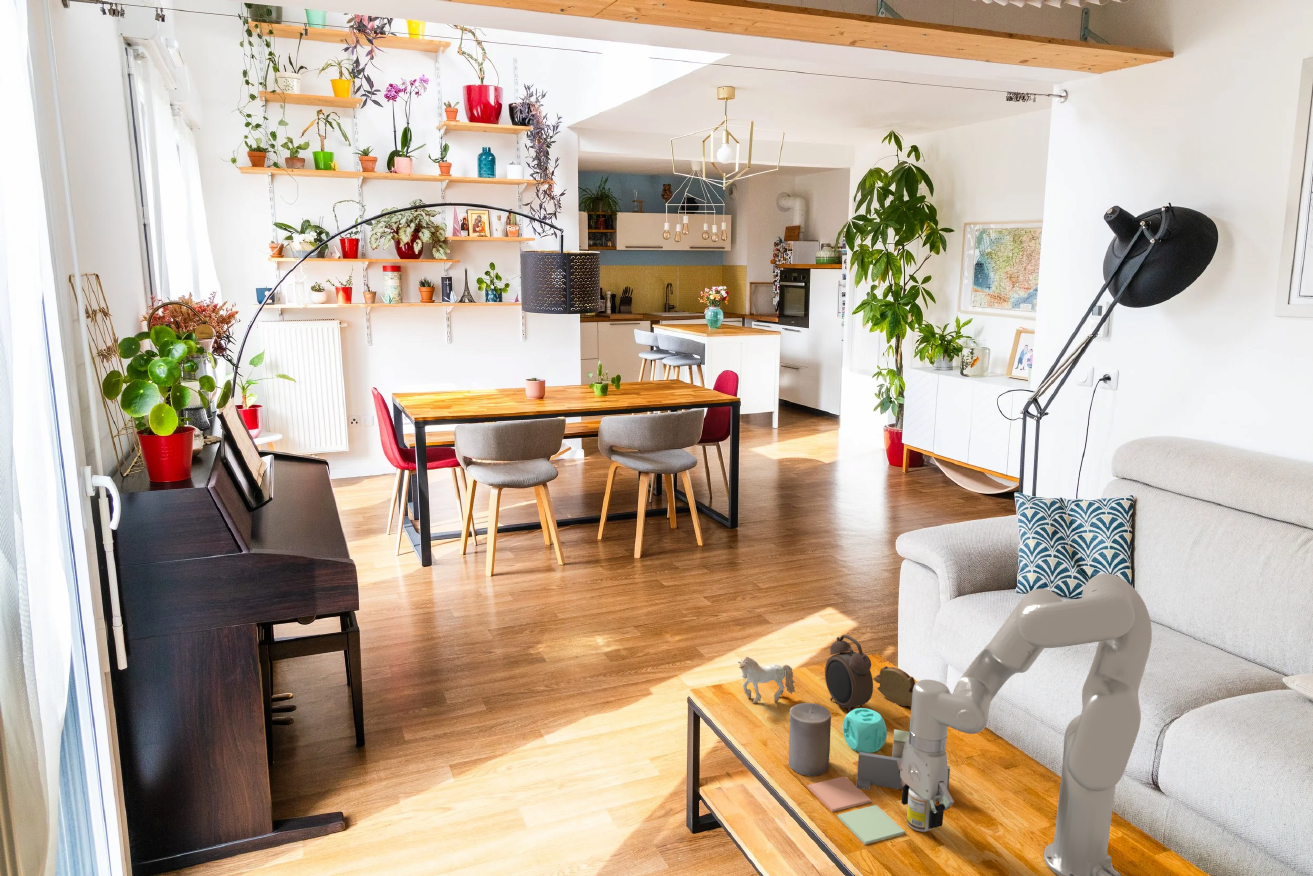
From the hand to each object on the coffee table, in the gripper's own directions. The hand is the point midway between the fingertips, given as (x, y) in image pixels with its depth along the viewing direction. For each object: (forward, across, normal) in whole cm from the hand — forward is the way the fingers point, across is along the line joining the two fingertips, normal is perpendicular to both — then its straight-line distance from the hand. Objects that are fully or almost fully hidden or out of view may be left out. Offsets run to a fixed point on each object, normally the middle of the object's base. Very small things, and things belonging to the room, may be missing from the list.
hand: (921, 814), depth 188 cm
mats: (+3, -10, -10) cm, 14 cm away
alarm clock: (+3, -50, +15) cm, 52 cm away
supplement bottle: (+3, 0, 0) cm, 3 cm away
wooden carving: (+3, -47, +30) cm, 56 cm away
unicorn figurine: (+3, -59, -5) cm, 59 cm away
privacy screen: (+3, -13, +5) cm, 14 cm away
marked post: (+3, -17, +8) cm, 19 cm away
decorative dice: (+3, -32, +8) cm, 33 cm away
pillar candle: (+3, -29, -10) cm, 31 cm away
